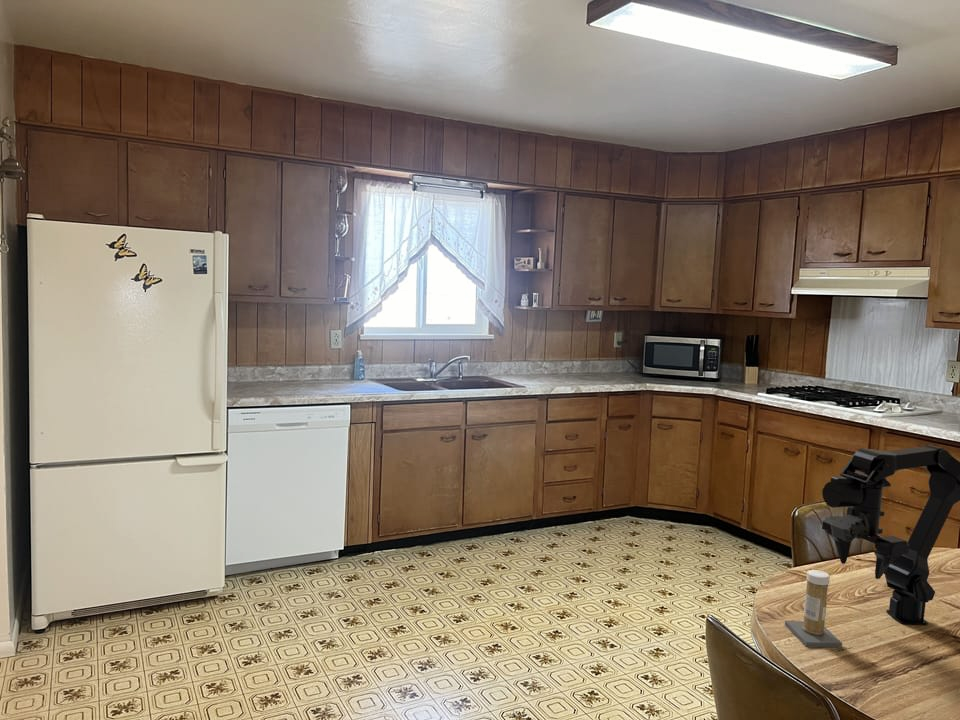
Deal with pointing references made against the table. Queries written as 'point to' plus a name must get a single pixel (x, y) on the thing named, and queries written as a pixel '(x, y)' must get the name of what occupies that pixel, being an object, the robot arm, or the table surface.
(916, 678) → the table surface
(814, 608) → the sprinkles bottle
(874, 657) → the table surface
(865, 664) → the table surface
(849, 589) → the table surface
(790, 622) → the slate tile
